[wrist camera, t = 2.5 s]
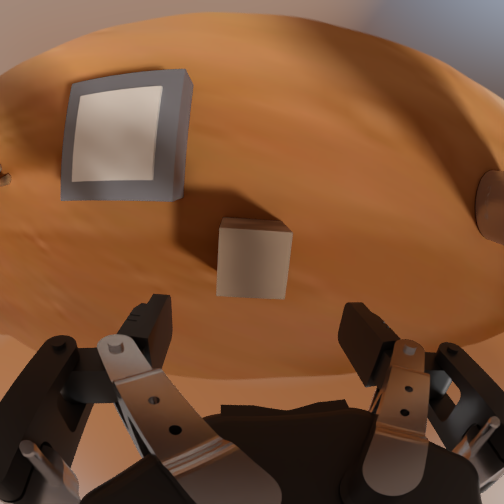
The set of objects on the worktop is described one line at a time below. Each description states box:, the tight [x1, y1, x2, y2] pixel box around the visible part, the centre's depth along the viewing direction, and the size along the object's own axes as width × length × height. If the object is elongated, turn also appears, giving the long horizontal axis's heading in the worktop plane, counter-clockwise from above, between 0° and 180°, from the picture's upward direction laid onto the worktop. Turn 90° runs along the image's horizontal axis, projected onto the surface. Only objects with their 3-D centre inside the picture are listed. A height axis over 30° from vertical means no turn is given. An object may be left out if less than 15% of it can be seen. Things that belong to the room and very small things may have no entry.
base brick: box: [61, 69, 193, 202], centre depth 18 cm, size 10×10×4 cm
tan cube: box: [216, 217, 293, 299], centre depth 21 cm, size 5×5×5 cm
